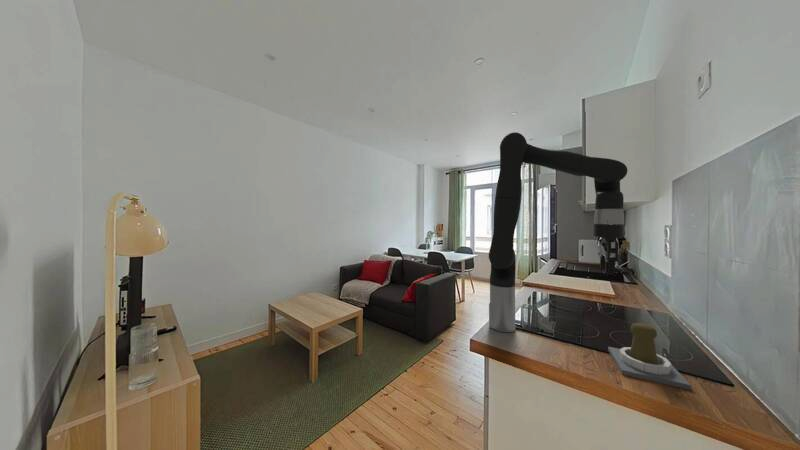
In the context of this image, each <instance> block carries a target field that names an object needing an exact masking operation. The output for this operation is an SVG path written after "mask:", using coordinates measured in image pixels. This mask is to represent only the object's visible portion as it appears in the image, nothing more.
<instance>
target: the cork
mask: <svg viewBox="0 0 800 450" xmlns="http://www.w3.org/2000/svg"><path fill="white" fill-rule="evenodd" d="M630 330H631V333H632V335H633V336H632V340H631V341H632V342H631V346H630V347H631V350H630V357H632V358H634V359H636V360H639V361H642V362H644V363H649V364H654V365H658V360H657V354H658V353H657V349H656V345H655V339H656V338H657V336H658V335H657V334H658V333H657V330H656V329H655V328H654V327H653V326H652V325H649V324H647V323H641V322H640V323H639V322H635V323H632V324H631V326H630Z"/></svg>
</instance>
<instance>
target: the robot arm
mask: <svg viewBox="0 0 800 450" xmlns="http://www.w3.org/2000/svg"><path fill="white" fill-rule="evenodd" d="M523 163H524V164H525V163H526V164H530V165H531V164H532V165H536V166H541V167H544V168H548V169H551V170H554V171H559V172H562V173H565V174H568V175H573V176H577V177H588V178H592V179H593V180H594V181H593V182H594V183H593V184H594V192H595V205H594V208H595V209H594V215H593V237H595V238H599V239H598V253H597V254H598V257H599V268H600V269H601V270H605V274H606V275H613V276H614V275H615V274H616V263H617V262H618V261H619V242H618V241H617V242H616V240H615V239H622V238H624V235H625V234H624V231H625V212H624V203H625V202H624V194H623V192H622V191H621V180H623V179H624V178H625V177H626V176H627V174H628V167H627V165H626V164H625V163H624V162H621V161H619V160H617V159H612V158H605V157H597V156H589V155H586V154H582V153H578V152H573V151H569V150H561V149H548V148H542V147H538V146H534V145H532V144H529V143H528V142H527V139H526V137H525V136H524V135H523V134H521V133H520V132H515V131H513V132H510V133H507V134H506V135H505V136H504V137H503V139H502V140H501V142H500V144H499V175H498V179H497V183H496V184H497V185H496V190H495V197H494V203H493V204H494V205H493V206H494V207H493V231H492V232H493V233H492V238H491V243H490V247H489V253H488V260H489V262H490V276H489V303H488V327H489V329H492V330H494V331H497V332H500V333H513V332H515V331H516V268H517V267H516V265H517V263H516V262H517V261H516V252H515V250H514V242H515V241H514V240H515V238H514V237H515V230H516V227H517V224H518V222H519V221H518V220H519V217H520V210H521V202H522V166H523Z"/></svg>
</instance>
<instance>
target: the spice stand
mask: <svg viewBox="0 0 800 450" xmlns="http://www.w3.org/2000/svg"><path fill="white" fill-rule="evenodd" d="M630 350H631V346H630V347H629V346H628V347H625V346H624V347H622V348H617V347H612V346H607V351H608V353H609V354H610V356H611V359H612V360H613V361H614V363H615V364H616V366H617V369H618V370H619V372H620V375H624V376H628V377H633V378H637V379H641V380H646V381H650V382H654V383H659V384H664V385H668V386H672V387H677V388H681V389H685V390H689V391H692V384H691V383H690V382H689V381H688V380H686V378H685V377H684V376H683V374H682V373H680V371H678V369H676V368H675V366H673V364H672V362H671V361H669V359H667V358H666V357H665V356H663V355H660V354H659V353H656V354H657V360H658V365H654V364H649V363H644V362H642V361H639V360H636V359H634V358H632V357H630Z"/></svg>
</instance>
